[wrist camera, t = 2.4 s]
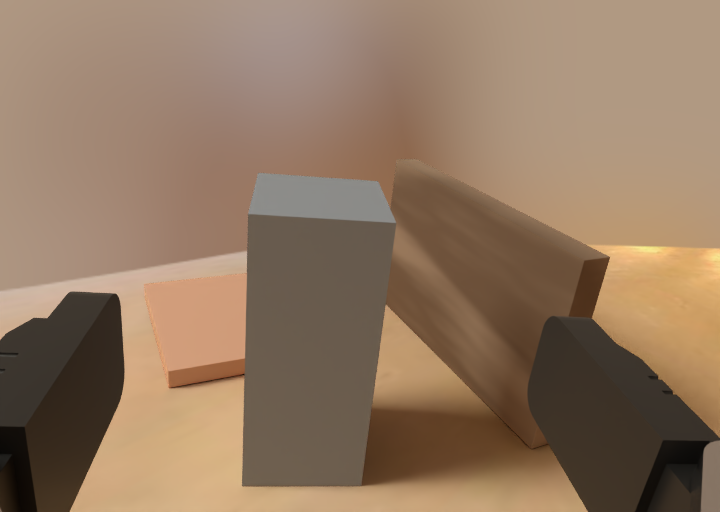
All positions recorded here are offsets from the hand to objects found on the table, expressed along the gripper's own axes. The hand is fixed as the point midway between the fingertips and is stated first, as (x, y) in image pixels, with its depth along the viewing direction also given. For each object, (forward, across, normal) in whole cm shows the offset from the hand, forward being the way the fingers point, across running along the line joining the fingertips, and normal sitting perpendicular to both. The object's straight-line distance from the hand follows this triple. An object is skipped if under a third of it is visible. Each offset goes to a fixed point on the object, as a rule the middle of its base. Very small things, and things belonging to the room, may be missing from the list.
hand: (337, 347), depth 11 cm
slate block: (+12, 0, +12) cm, 17 cm away
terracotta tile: (+22, +4, +12) cm, 25 cm away
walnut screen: (+19, -9, +12) cm, 25 cm away
